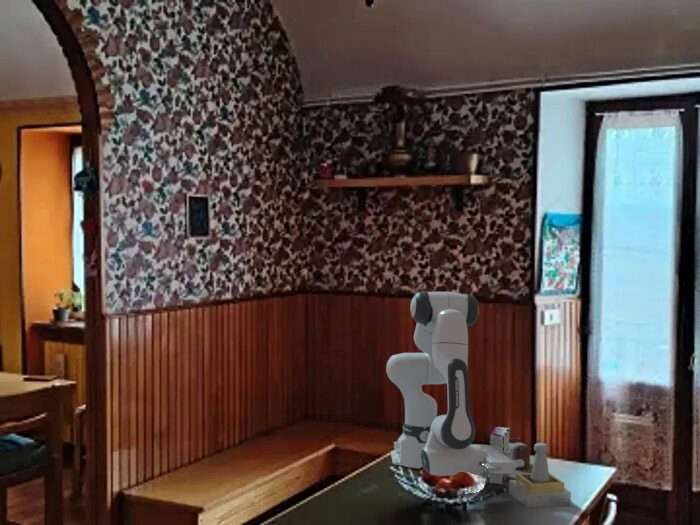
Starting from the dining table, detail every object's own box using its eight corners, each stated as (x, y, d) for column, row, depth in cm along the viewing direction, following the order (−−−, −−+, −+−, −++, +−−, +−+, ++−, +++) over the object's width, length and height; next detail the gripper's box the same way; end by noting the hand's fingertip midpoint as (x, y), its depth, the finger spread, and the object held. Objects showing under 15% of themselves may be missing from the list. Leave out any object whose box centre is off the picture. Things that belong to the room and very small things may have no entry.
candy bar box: (493, 474, 288) (495, 426, 288) (508, 476, 287) (510, 427, 286) (487, 483, 278) (489, 433, 277) (503, 485, 276) (505, 435, 276)
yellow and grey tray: (508, 492, 268) (509, 472, 268) (550, 491, 271) (551, 471, 271) (527, 507, 255) (527, 485, 254) (570, 505, 257) (571, 484, 257)
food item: (493, 460, 307) (494, 432, 307) (512, 458, 310) (513, 431, 310) (513, 470, 294) (514, 442, 294) (533, 468, 297) (534, 440, 297)
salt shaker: (549, 489, 259) (550, 447, 259) (529, 487, 260) (531, 445, 260) (549, 483, 265) (550, 442, 264) (530, 482, 266) (532, 440, 266)
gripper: (487, 458, 248) (531, 457, 251) (463, 441, 268) (504, 440, 271) (486, 480, 248) (530, 478, 251) (462, 461, 268) (503, 459, 271)
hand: (516, 458), depth 261 cm, fingers open, 8 cm apart
